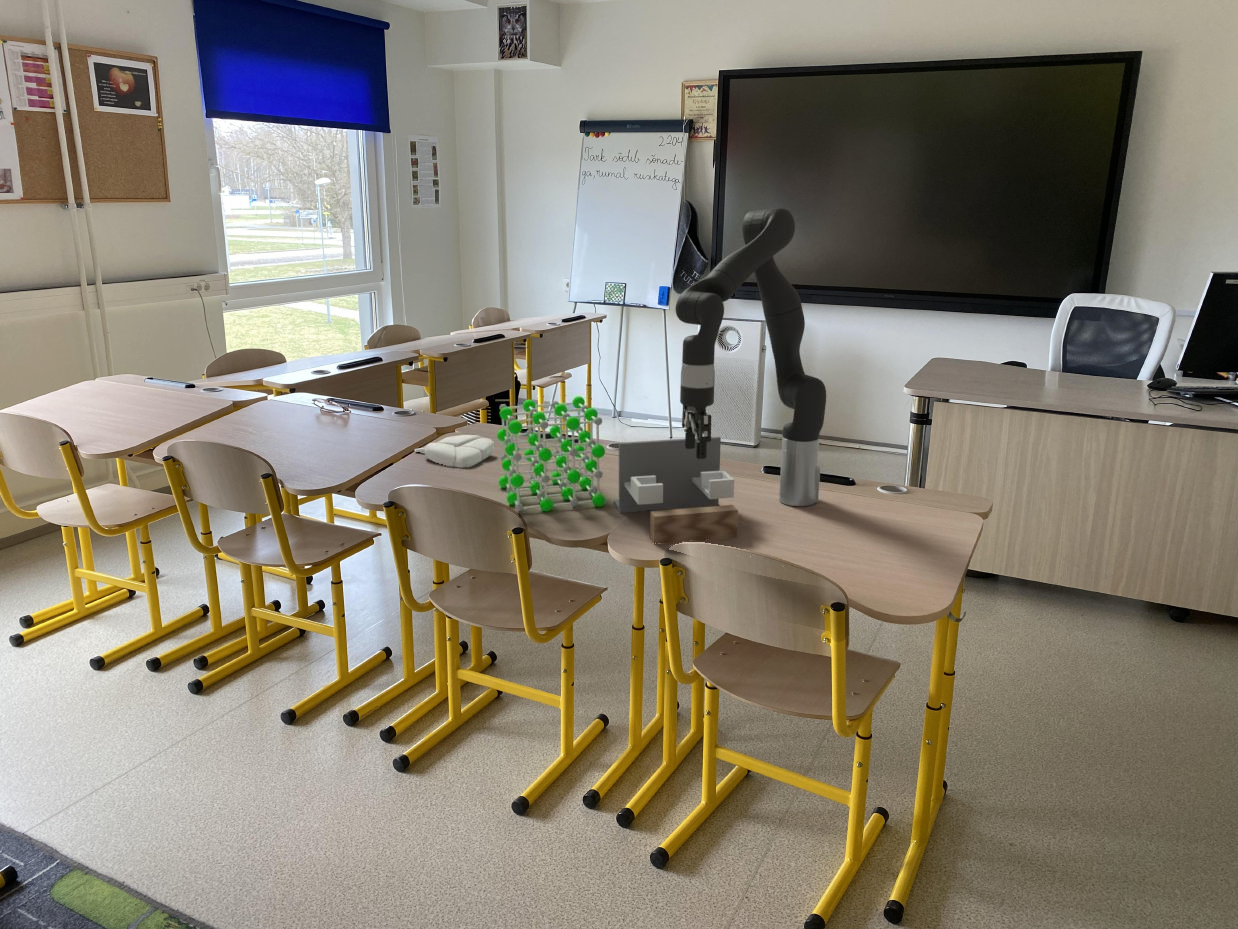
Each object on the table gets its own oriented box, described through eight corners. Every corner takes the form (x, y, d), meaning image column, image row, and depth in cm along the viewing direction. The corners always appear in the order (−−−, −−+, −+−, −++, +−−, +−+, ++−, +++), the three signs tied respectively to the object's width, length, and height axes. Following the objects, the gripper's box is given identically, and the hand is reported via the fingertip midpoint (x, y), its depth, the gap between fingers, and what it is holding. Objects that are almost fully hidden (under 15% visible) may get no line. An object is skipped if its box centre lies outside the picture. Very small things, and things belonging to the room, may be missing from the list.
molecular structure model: (512, 516, 228) (509, 422, 221) (498, 486, 251) (494, 400, 244) (606, 508, 234) (606, 415, 227) (584, 479, 257) (583, 394, 250)
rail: (731, 532, 217) (732, 504, 215) (736, 538, 214) (737, 510, 212) (650, 539, 213) (650, 511, 211) (654, 545, 210) (654, 516, 208)
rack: (709, 496, 242) (711, 430, 237) (737, 524, 222) (740, 453, 217) (613, 503, 237) (613, 436, 231) (633, 533, 217) (633, 460, 211)
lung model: (469, 469, 265) (399, 467, 275) (500, 455, 280) (432, 453, 290) (466, 447, 264) (396, 446, 274) (497, 434, 279) (429, 433, 289)
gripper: (724, 389, 197) (721, 461, 202) (703, 376, 211) (701, 444, 215) (690, 390, 196) (688, 463, 200) (672, 377, 209) (670, 446, 214)
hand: (695, 453), depth 208 cm, fingers open, 8 cm apart
